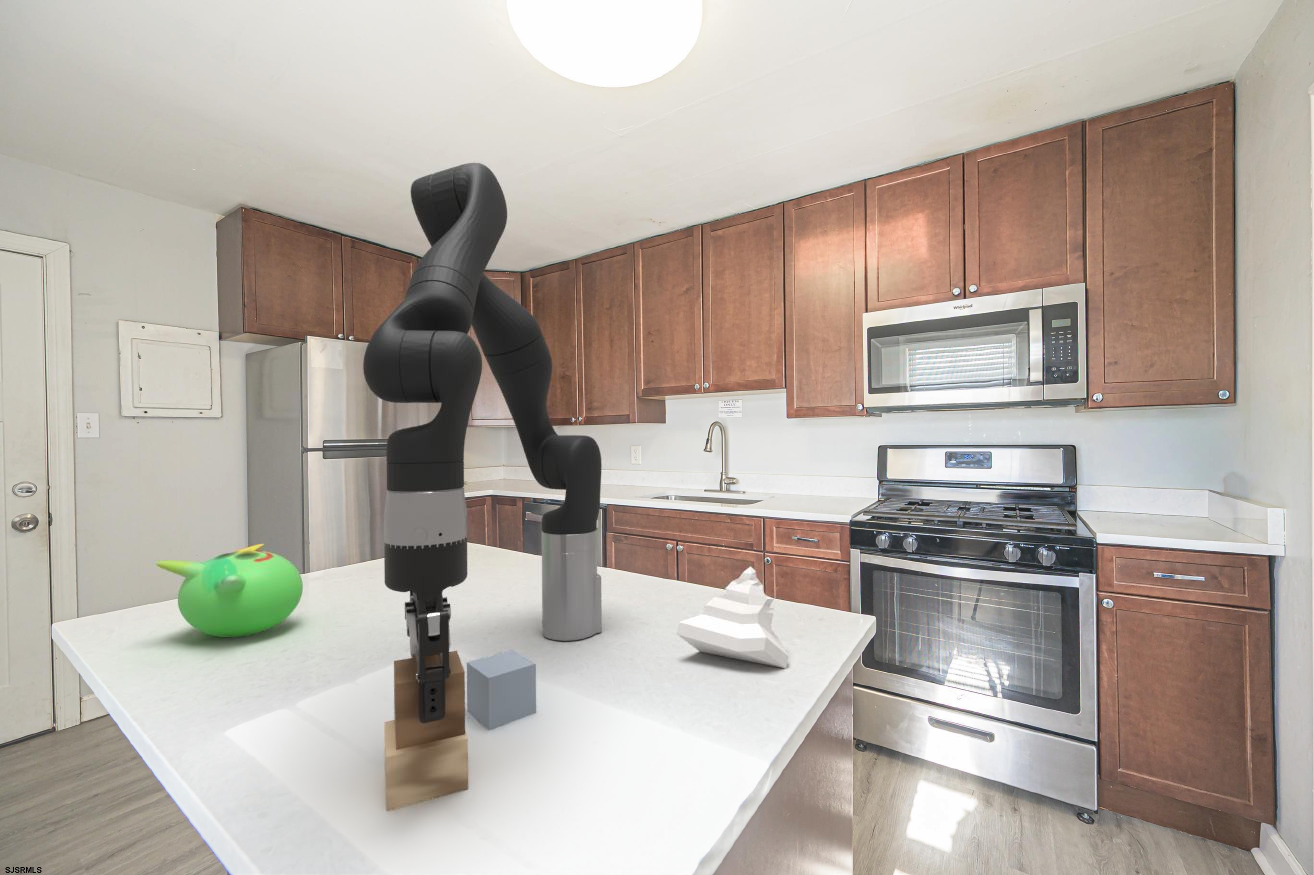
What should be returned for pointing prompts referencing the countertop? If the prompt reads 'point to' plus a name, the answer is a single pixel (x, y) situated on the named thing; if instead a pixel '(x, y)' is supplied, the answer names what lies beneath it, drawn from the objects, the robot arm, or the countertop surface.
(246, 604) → the toy bird
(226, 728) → the countertop surface
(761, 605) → the white seashell
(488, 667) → the slate block
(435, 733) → the walnut block
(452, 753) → the oak base block
